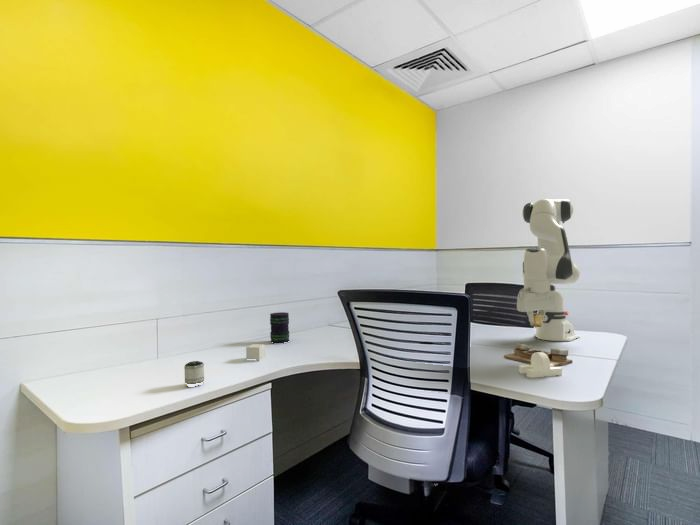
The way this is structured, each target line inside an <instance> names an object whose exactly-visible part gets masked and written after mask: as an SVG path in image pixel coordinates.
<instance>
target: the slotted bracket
mask: <svg viewBox="0 0 700 525" xmlns="http://www.w3.org/2000/svg"><path fill="white" fill-rule="evenodd" d="M544 352H545V351H544ZM544 352H536V353H533V354H532V356H531V364H522V365H519V367H518V368H519V370H518V371H519V373H520V374H521V375H526V377H528V378H531V379H532V378H543V377H544V376H546V377H556V375H558V376H563V367H562V366H557V367H554V365H553V364H550V360H549V358H548V356H547V355H546V354H545V353H544ZM526 373H527V374H526ZM544 378H545V377H544Z"/></svg>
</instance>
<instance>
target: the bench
mask: <svg viewBox="0 0 700 525" xmlns="http://www.w3.org/2000/svg"><path fill="white" fill-rule="evenodd" d="M536 352H544V353H545V354H546V355H547V356H548V358H549V360H550V364H553V365H554V367H562V366H564V365H568V364H572V363H573V360H572V359H569V358H567V362H565V361H555V360H552V355H551V352H549V351H543V350H540V349H539V350H538V349H534V348H533V349H530V345H527V344H524V343H523V344H522V343H518V342H516V343H515V344H514V349H513V352H512V353H508V354H504V355H503V357H504V358H505V359H509V360H512V359H513V360H512V361H516V360H517V362H520V361H521V362H520V363H524V362H525V363H526V364H528V363H529V364H528V365H531V356H532V354H533V353H536Z"/></svg>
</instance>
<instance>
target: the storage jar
mask: <svg viewBox="0 0 700 525" xmlns="http://www.w3.org/2000/svg"><path fill="white" fill-rule="evenodd" d="M289 323H290V317H289V312H284V311H283V312H273V313H272V312H271V313H270V315H269V324H270V333H269V334H270V335H269V336H270V338H269V339H270V343H271V342H273V343H283V344H285V343H284V342H288V341H289V342H290V330H289V328H290V327H289ZM289 342H288V343H289ZM273 343H272V344H273Z"/></svg>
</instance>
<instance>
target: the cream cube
mask: <svg viewBox="0 0 700 525" xmlns="http://www.w3.org/2000/svg"><path fill="white" fill-rule="evenodd" d="M245 351H246V352H245V353H246V354H245V355H246V358H245V359H256V360H260V359H262V358H263V357H265V358H266V344H258V343H257V344H256V343H253V344H250V345H248V346H246V347H245Z"/></svg>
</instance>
